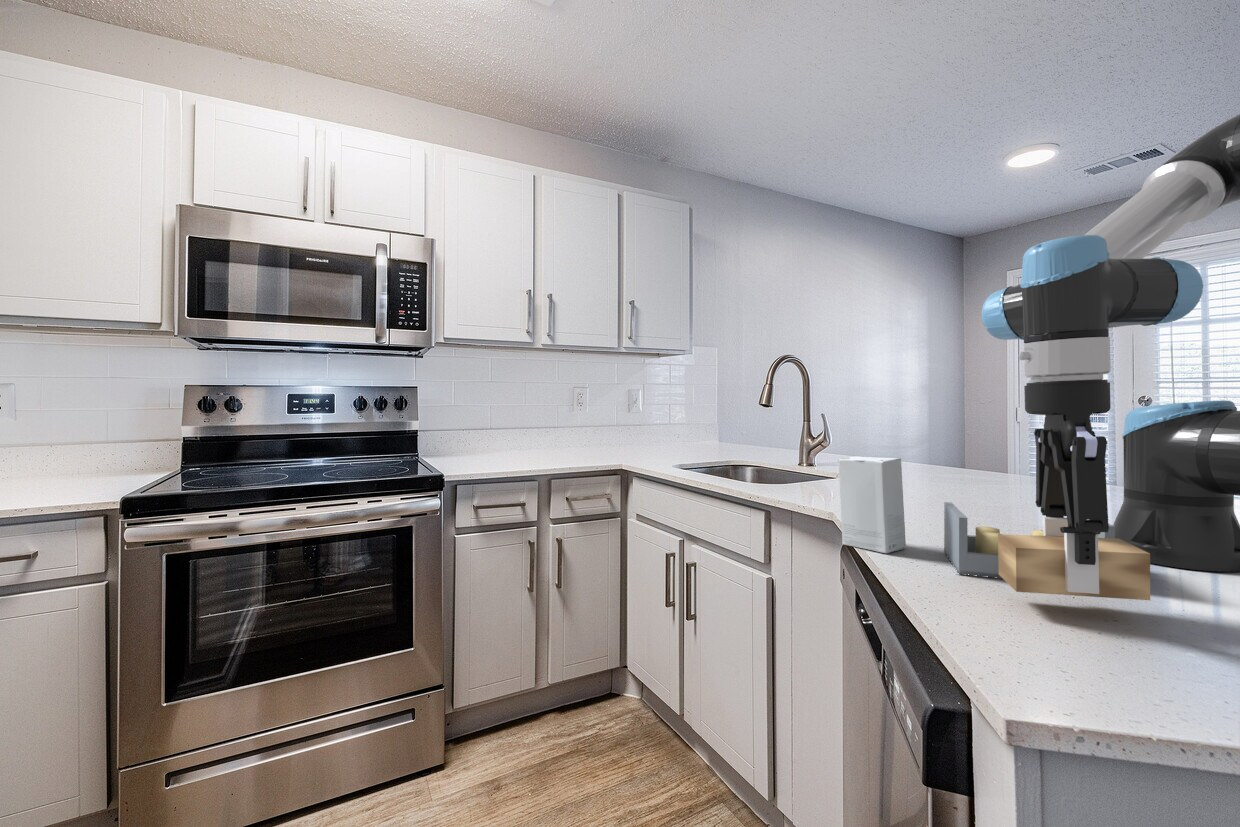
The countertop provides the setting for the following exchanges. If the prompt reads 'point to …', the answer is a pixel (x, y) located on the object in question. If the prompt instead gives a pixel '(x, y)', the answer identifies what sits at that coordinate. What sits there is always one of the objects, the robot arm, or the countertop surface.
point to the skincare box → (872, 503)
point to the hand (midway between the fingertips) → (1069, 580)
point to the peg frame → (978, 544)
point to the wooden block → (1043, 566)
